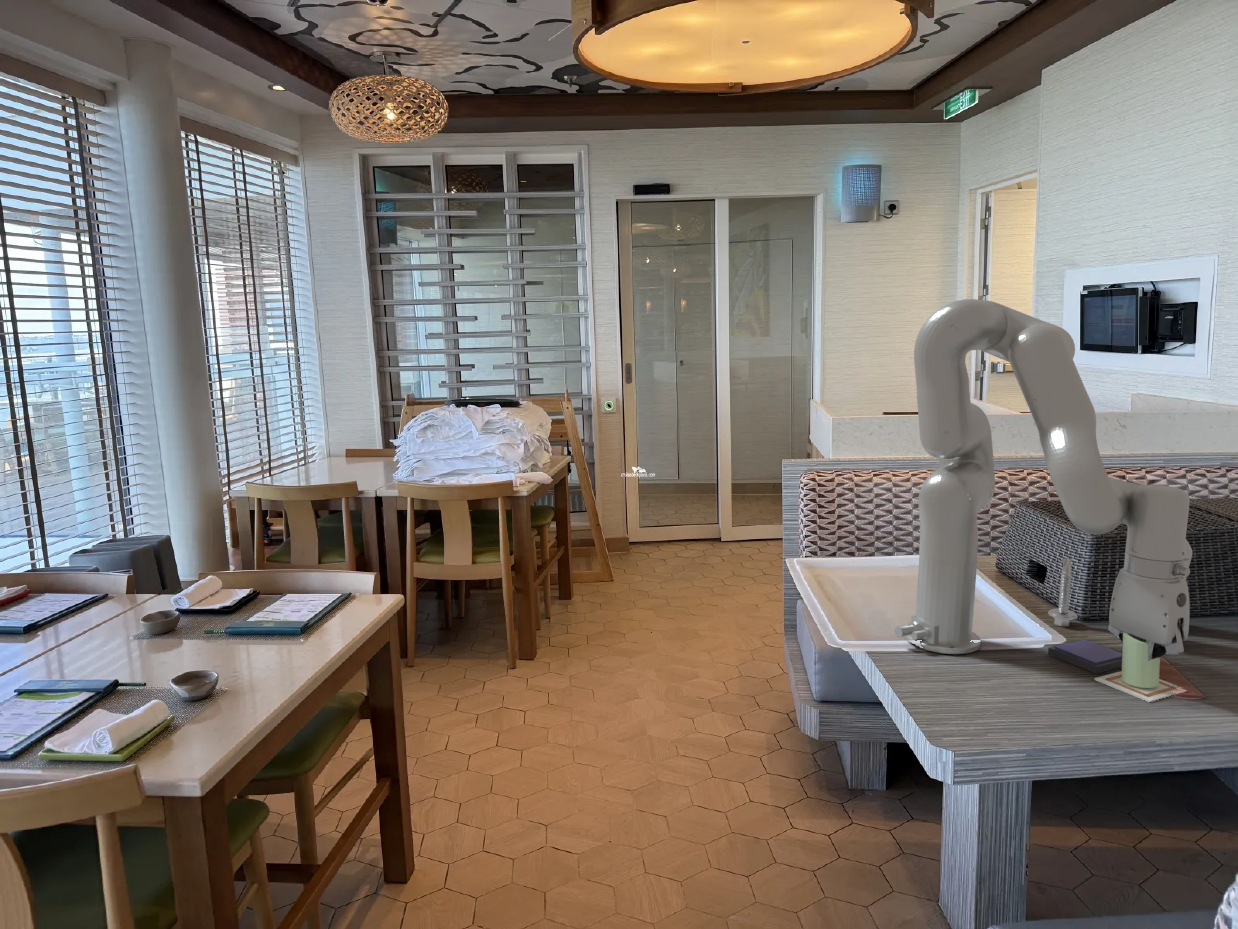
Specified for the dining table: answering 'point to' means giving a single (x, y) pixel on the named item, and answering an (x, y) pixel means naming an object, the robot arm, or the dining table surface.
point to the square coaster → (1142, 693)
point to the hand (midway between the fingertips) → (1140, 679)
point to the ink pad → (1088, 655)
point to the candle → (1138, 663)
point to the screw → (1064, 598)
